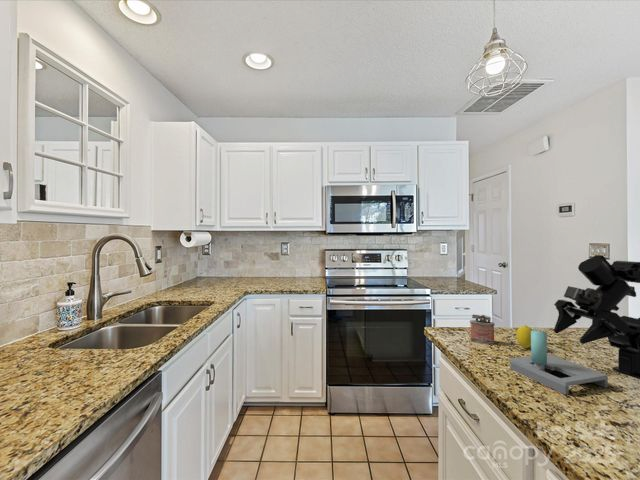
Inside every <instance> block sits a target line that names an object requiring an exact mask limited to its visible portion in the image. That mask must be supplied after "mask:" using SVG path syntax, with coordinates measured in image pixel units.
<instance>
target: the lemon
mask: <svg viewBox="0 0 640 480" xmlns="http://www.w3.org/2000/svg"><path fill="white" fill-rule="evenodd" d="M532 330H533V329H532V328H531V327H529V326H528V325H527V324H526V325H525V324H524V325H522V326H520V327H519V328H518V329H517V330H516V334H515V335H516V336H515V337H516V341H517V343H518V344H519V345H520V346H522V347H523V348H524V349H529V348H531V331H532Z"/></svg>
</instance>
